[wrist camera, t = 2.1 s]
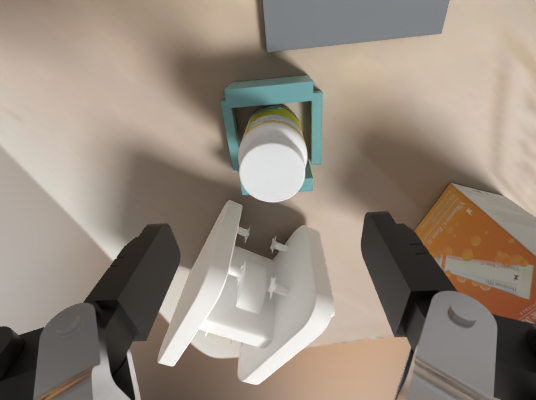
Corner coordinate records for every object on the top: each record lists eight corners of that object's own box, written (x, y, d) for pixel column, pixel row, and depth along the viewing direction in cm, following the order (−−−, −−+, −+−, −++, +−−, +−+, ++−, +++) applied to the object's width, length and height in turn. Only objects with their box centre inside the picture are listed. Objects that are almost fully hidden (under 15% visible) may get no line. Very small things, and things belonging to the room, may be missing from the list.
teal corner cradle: (321, 73, 19) (328, 79, 16) (319, 171, 23) (324, 189, 21) (219, 83, 20) (209, 91, 17) (236, 176, 24) (230, 195, 21)
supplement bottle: (280, 165, 23) (281, 219, 16) (237, 139, 22) (217, 185, 15) (312, 123, 21) (328, 165, 14) (265, 90, 20) (258, 119, 13)
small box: (448, 180, 24) (594, 302, 13) (506, 195, 24) (692, 322, 13) (403, 241, 28) (482, 370, 17) (453, 252, 29) (560, 383, 18)
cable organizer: (234, 182, 25) (204, 275, 15) (322, 222, 27) (346, 325, 17) (189, 270, 32) (150, 370, 22) (261, 295, 34) (254, 396, 25)
